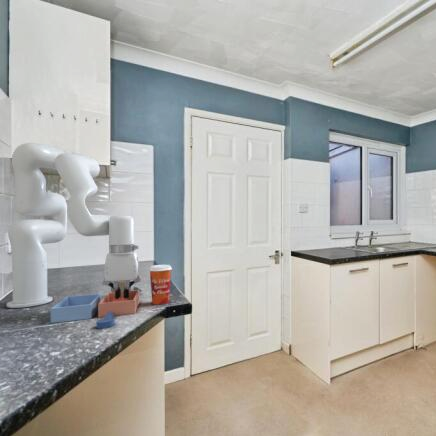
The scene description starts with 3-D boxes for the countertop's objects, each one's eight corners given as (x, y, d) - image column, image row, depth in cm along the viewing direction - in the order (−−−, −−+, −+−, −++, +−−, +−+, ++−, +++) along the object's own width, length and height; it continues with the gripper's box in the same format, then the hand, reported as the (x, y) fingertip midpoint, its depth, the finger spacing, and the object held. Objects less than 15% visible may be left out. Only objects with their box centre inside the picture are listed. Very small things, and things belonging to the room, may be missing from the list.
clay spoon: (116, 299, 115) (116, 294, 115) (130, 298, 117) (130, 293, 117) (111, 307, 105) (110, 302, 105) (126, 306, 107) (126, 300, 107)
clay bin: (107, 304, 116) (107, 292, 116) (139, 301, 120) (139, 289, 120) (98, 317, 101) (98, 303, 101) (135, 313, 106) (135, 300, 106)
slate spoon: (102, 318, 101) (102, 312, 101) (118, 316, 103) (118, 310, 103) (94, 329, 91) (94, 323, 91) (113, 327, 92) (112, 321, 92)
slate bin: (66, 309, 110) (66, 296, 110) (101, 305, 115) (101, 293, 115) (50, 323, 96) (50, 308, 96) (91, 318, 100) (91, 304, 100)
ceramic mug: (109, 299, 123) (110, 279, 123) (114, 294, 131) (114, 276, 131) (140, 296, 128) (141, 278, 128) (143, 292, 135) (143, 274, 135)
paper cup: (148, 306, 114) (148, 268, 114) (149, 301, 121) (149, 265, 120) (172, 303, 117) (172, 266, 117) (172, 298, 124) (172, 263, 124)
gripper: (147, 247, 120) (147, 295, 120) (97, 249, 113) (98, 300, 113) (145, 249, 113) (146, 300, 113) (92, 251, 106) (93, 305, 106)
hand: (122, 299), depth 113 cm, fingers closed on clay spoon, 1 cm apart
